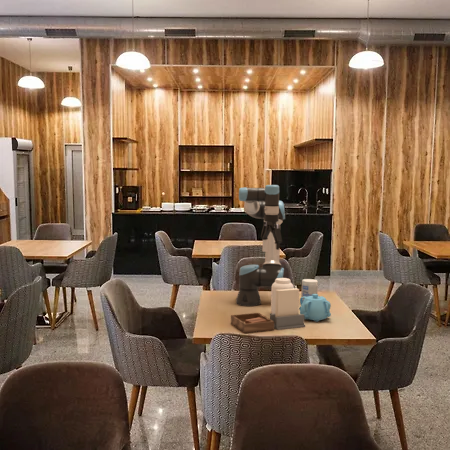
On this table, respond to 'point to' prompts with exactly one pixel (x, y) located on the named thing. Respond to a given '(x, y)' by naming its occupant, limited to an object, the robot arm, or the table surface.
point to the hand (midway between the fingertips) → (270, 253)
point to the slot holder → (288, 321)
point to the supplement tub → (309, 287)
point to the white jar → (277, 285)
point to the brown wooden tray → (252, 327)
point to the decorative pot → (315, 307)
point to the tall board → (287, 302)
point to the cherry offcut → (255, 320)
